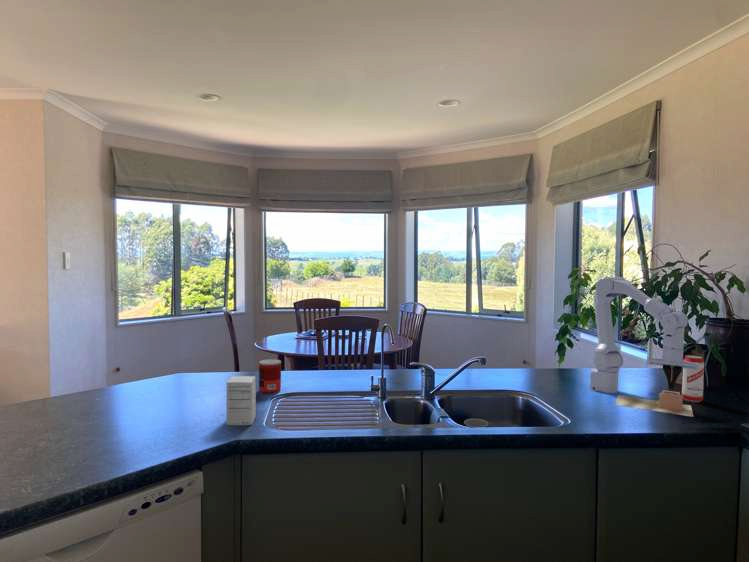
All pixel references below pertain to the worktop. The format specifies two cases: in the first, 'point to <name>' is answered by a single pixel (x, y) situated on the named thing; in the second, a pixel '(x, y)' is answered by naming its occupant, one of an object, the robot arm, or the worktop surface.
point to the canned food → (269, 376)
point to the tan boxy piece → (670, 400)
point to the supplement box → (241, 400)
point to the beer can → (693, 380)
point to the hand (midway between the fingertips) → (671, 388)
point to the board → (650, 405)
